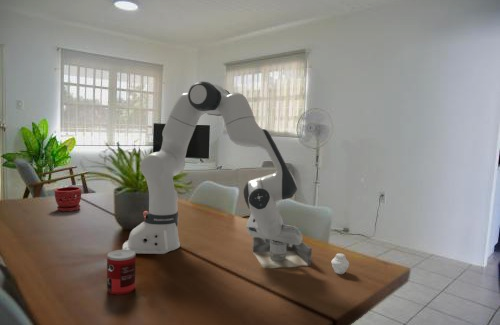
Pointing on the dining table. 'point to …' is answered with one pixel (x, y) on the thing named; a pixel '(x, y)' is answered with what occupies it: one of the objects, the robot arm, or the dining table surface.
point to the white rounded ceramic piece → (340, 263)
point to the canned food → (121, 271)
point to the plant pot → (68, 198)
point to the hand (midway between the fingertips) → (278, 243)
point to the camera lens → (277, 250)
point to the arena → (294, 257)
